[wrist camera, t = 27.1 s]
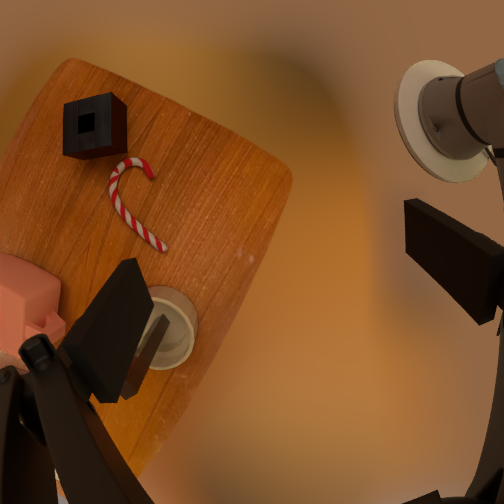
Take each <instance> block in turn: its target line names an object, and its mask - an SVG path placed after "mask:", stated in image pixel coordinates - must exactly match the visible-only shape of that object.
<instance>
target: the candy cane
mask: <svg viewBox="0 0 504 504" xmlns="http://www.w3.org/2000/svg"><path fill="white" fill-rule="evenodd" d="M133 165H136V166H140V167H142V168H143V169H144V171H145V172H146V175H147V177H148V178H154V177H155V175H154V172H153V169H152V167H151V166H150V164H149V163H148V162H146V161H145V160H143V159H140V158H127V159H125V160H123V161H122V162H120V163H119V164H118V165H117V166H116V167H115V169H114V170H113V172H112V174H111V177H110V180H109V193H110V197H111V200H112V202H113V205H114V207H115V208H116V210H117V212H118V213H119V214H120V216H121V217H122V218H123V219H124V220H125V221H126V222H127V223H128V224H129V225H130V226H131V227H132V228H133V229H134V230H135V231H136V232H137V233H138V234H139V235H140V236H141V237H142V238H144V239H145V240H146V241H147V242H148V243H150V244H151V245H152V246H154V247H155V248H156V249H158V250H159V251H161V252H162V253H165V252H166V250H167V249H168V247H167V245H165V244H164V243H163V242H162V241H160V240H159V239H158V238H156V237H155V236H154V235H153V234H151V233H150V232H149V231H148V230H147V229H146V228H144V227H143V226H142V225H141V224H140V223H139V222H138V221H137V220H136V219H135V218H134V217H133V216H132V215H131V214H130V213H129V212H128V211H127V209H126V208H125V207H124V205H123V204H122V202H121V200H120V198H119V196H118V192H117V181H118V178H119V176H120V174H121V173H122V172H123V170H125V169H126V168H127V167H129V166H133Z"/></svg>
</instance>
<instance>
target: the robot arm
mask: <svg viewBox="0 0 504 504" xmlns="http://www.w3.org/2000/svg"><path fill="white" fill-rule="evenodd" d="M418 115H419V120H420V123H421V126H422V129H423V131H424V133H425V135H426V137H427V138H428V140H429V141H430V143H431V144H432V145H433V147H434V148H435V149H436V150H437V151H438V152H439V153H441V154H442V155H443V156H445V157H447V158H449V159H452V160H467V159H471V158H473V157H475V156H476V155H477V154H479V153H480V152H481V151H482V150H483V149H484V150H485V151H486V152H487V154H488V155H489V157H490V158H491V160H492V162H493V163H494V165H495V166H496V167H497V169H498V174H499V179H500V183H501V189H502V195H503V200H504V58H501V59H499V60H498V61H496V62H495V63H492V64H490V65H488V66H486V67H483V68H481V69H479V70H477V71H475V72H472V73H470V74H468V75H466V76H464V77H461V76H457V77H456V76H454V75H450V76H441V77H436V78H434V79H432V80H431V81H429V82H427V83H426V84H425V85H424V86H423V88H422V89H421V91H420V94H419V98H418ZM489 145H492V148H493V152H494V156H495V158H494V156H493V155H492V153H491V152H490V150H489V149H488V146H489ZM404 212H405V242H406V253H407V254H408V255H409V256H410V257H411V258H413V260H414V261H416V262H417V263H418V264H419V265H420V266H421V267H422V268H423V269H424V270H425V271H426V272H427V273H428V274H429V275H430V276H431V277H432V278H433V279H434V280H435V281H437V283H438V284H440V285H441V286H442V287H443V288H444V289H445V290H446V291H447V292H448V293H449V294H450V295H451V296H452V298H454V300H455V301H456V302H457V303H458V304H459V305H461V307H462V308H463V309H464V310H465V311H466V312H467V313H468V314H469V315H470V316H471V317H472V318H473V319H474V320H475V322H476V323H477V324H478V325H482V324H484V323H487V322H489V321H491V320H493V319H494V317H495V312H496V308H497V305H498V306H499V307H500V308H501V309H502V310H503V313H502V316H501V320H500V324H499V328H498V332H497V336H499V334H500V345H499V357H498V368H497V377H496V384H495V391H494V397H493V403H492V409H491V414H490V419H489V424H488V429H487V433H486V438H485V442H484V446H483V450H482V453H481V457H480V461H479V464H478V468H477V471H476V474H475V476H474V479H473V481H472V483H471V485H470V487H469V488H468V490H467V492H466V494H465V496H464V497H446V498H440V495H439V492H438V490H435V491H433V492H431V493H428V494H426V495H424V496H421V497H418V498H416V499H413V500H411V501H408V502H405V503H403V504H504V247H503V246H501V245H499V244H497V243H496V242H495V241H493V240H491V239H490V238H489V237H487V236H485V235H484V234H481V233H479V232H475V231H474V230H472V229H470V228H469V227H467V226H465V225H464V224H462V223H460V222H459V221H457V220H455V219H454V218H452V217H450V216H448V215H447V214H445V213H443V212H441V211H439V210H437V209H436V208H434V207H432V206H430V205H429V204H427V203H425V202H423V201H421V200H419V199H417V198H416V199H410V200H405V201H404ZM153 308H154V303H153V301H152V298H151V296H150V293H149V291H148V288H147V286H146V283H145V281H144V278H143V276H142V273H141V270H140V268H139V265H138V262H137V260H136V257H135V258H131V259H127V260H122V261H121V263H120V264H119V265H118V267H117V268H116V269H115V271H114V272H113V273H112V275H111V276H110V277H109V279H108V280H107V281H106V283H105V284H104V286H103V287H102V288H101V290H100V291H99V292H98V294H97V295H96V297H95V298H94V299H93V301H92V302H91V304H90V305H89V307H88V308H87V309H86V311H85V312H84V314H83V315H82V316H81V317H80V318H79V319H78V320H76V321H75V323H74V324H73V326H72V327H71V330H69V332H68V333H67V336H65V338H64V339H63V341H62V342H61V344H60V345H59V347H58V348H57V350H55V348H54V346H53V345H52V343H51V341H50V340H49V338H48V336H47V335H46V334H43V333H41V334H36V335H34V336H32V337H30V338H29V339H27V340H26V341H25V342H24V343H23V344H22V345H21V346H20V348H19V350H18V354H19V355H20V357H21V359H22V360H23V362H24V363H25V365H26V366H27V368H28V369H29V371H30V373H26V374H23V375H20V374H19V372H18V371H17V369H16V368H15V367H14V366H7V367H5V368H2V369H0V504H58V496H57V487H56V477H55V470H56V473H57V475H58V478H59V481H60V483H61V486H62V489H63V491H64V494H65V496H66V498H67V501H68V503H69V504H154V502H153V501H152V500H151V498H150V497H149V496H148V494H147V493H146V491H145V490H144V489H143V487H142V486H141V484H140V483H139V481H138V480H137V478H136V477H135V475H134V474H133V473H132V471H131V469H130V468H129V466H128V465H127V463H126V462H125V460H124V459H123V457H122V455H121V454H120V452H119V451H118V449H117V447H116V446H115V444H114V442H113V440H112V439H111V437H110V435H109V434H108V432H107V430H106V428H105V426H104V425H103V423H102V421H101V419H100V417H99V415H98V413H97V412H96V410H95V408H94V406H93V405H92V403H91V402H90V401H89V398H90V396H91V394H92V393H93V394H94V395H95V397H96V398H97V400H98V401H99V402H100V403H117V401H118V399H119V396H120V393H121V390H122V387H123V385H124V382H125V379H126V376H127V374H128V371H129V368H130V366H131V363H132V361H133V358H134V355H135V353H136V350H137V348H138V345H139V342H140V340H141V337H142V335H143V332H144V330H145V327H146V325H147V322H148V320H149V318H150V315H151V313H152V310H153Z"/></svg>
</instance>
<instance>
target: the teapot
mask: <svg viewBox="0 0 504 504" xmlns="http://www.w3.org/2000/svg"><path fill="white" fill-rule="evenodd" d="M60 290H61V281H60V280H59V279H58V278H57V277H55V276H54V275H52V274H50V273H49V272H47V271H45V270H43V269H42V268H40V267H38V266H36V265H34V264H32V263H30V262H28V261H26V260H23V259H21V258H18V257H16V256H13V255H9V254H0V349H1V350H3V351H4V352H6V353H8V354H10V355H12V356H14V357H16V358H19V359H21V357H20V355H19V354H18V350H19V348H20V346H21V345H22V344H23V343H24V342H25V341H26V340H27V339H29V338H30V337H32V336H34V335H36V334H41V333H43V334H46V335H47V336H48V338H49V340H50V341H51V343H52V344H53V343H55V342H56V341H58V340H59V339H60V338H62V337H63V336H64V335H65V329H66V323H65V322H64V321H63V320H62V319H61V318H60V317H59V316H58V315H57V313H58V306H59V298H60Z"/></svg>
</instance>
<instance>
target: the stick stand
mask: <svg viewBox="0 0 504 504" xmlns="http://www.w3.org/2000/svg"><path fill="white" fill-rule="evenodd" d="M121 153H127V106H126V105H125V104H124V103H123V102H122V101H121V100H120V99H119V98H117V97H116V96H115V95H114V94H113V93H112V92H110V93H105V94H101V95H97V96H93V97H89V98H85V99H81V100H77V101H73V102H69V103H66V104H64V111H63V155H64V156H68V157H73V158H77V159H81V160H88V159H93V158H98V157H104V156H110V155H115V154H121Z"/></svg>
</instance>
